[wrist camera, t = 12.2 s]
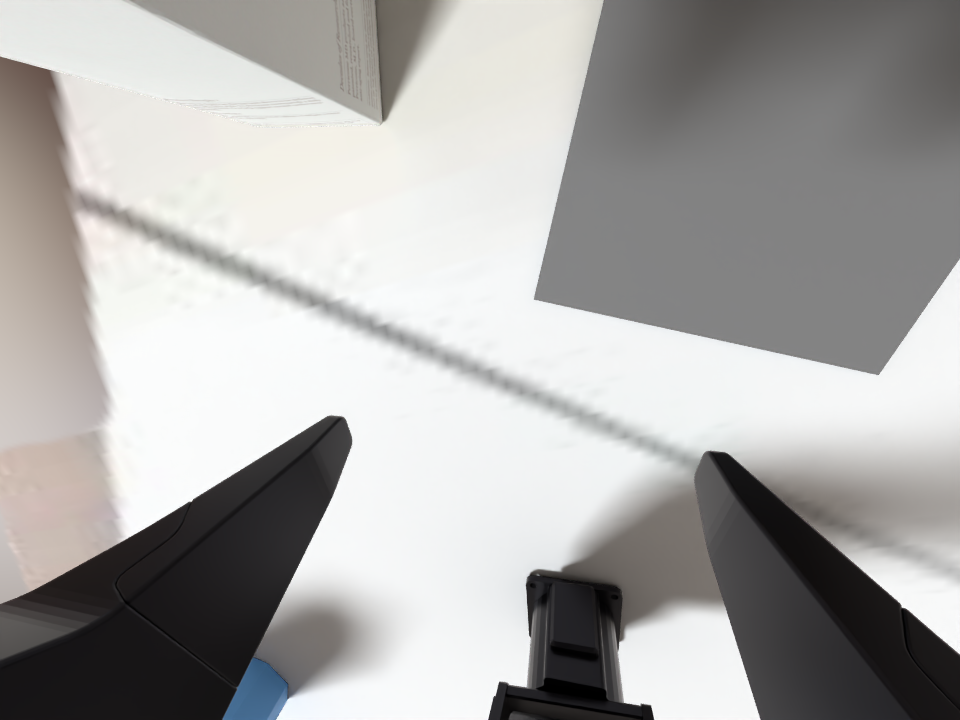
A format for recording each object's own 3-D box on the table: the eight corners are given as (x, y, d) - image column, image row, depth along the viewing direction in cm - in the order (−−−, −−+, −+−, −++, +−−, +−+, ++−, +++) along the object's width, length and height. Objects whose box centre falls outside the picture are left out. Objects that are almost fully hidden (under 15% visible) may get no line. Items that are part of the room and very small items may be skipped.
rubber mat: (873, 372, 17) (878, 374, 16) (534, 298, 19) (533, 299, 19) (1557, -622, 7) (1593, -652, 7) (732, -549, 10) (737, -571, 9)
